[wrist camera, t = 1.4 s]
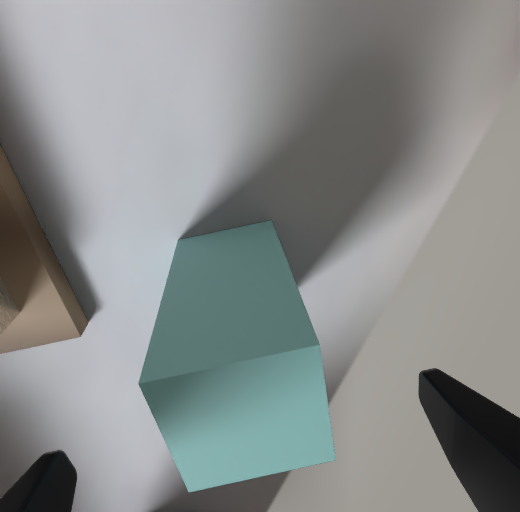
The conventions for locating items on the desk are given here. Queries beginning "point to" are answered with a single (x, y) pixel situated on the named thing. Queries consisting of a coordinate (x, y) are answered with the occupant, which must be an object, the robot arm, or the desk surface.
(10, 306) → the frame
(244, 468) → the teal block
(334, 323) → the desk surface
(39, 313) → the base board
